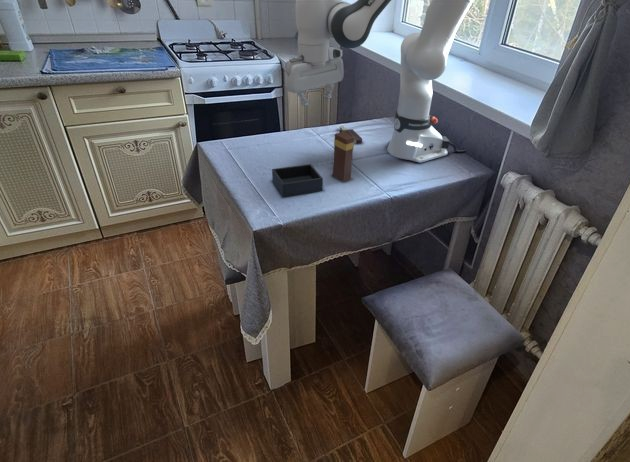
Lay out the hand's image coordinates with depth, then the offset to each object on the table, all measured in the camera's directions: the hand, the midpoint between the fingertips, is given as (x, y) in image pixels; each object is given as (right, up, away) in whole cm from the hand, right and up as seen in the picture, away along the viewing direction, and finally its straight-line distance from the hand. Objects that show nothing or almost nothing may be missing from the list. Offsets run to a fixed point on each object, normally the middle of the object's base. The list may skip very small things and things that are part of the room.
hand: (316, 101), depth 131 cm
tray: (-5, -26, -2) cm, 27 cm away
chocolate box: (+7, -22, +5) cm, 24 cm away
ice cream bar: (+8, -4, +32) cm, 33 cm away
